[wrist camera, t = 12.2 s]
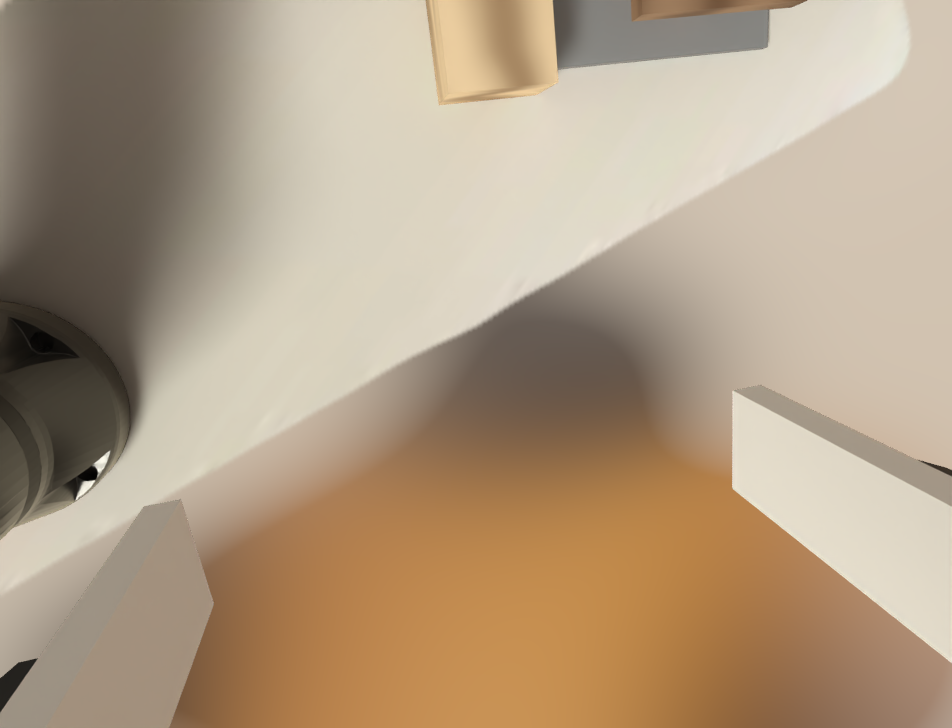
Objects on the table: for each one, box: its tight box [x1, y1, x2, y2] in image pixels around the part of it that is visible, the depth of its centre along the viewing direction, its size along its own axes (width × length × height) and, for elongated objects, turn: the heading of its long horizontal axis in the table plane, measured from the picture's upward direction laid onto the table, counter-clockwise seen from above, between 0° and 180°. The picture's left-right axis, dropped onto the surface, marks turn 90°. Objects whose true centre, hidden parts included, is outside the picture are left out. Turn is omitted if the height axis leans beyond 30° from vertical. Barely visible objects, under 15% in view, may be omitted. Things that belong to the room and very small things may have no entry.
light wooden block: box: [426, 0, 558, 105], centre depth 38 cm, size 7×7×5 cm
